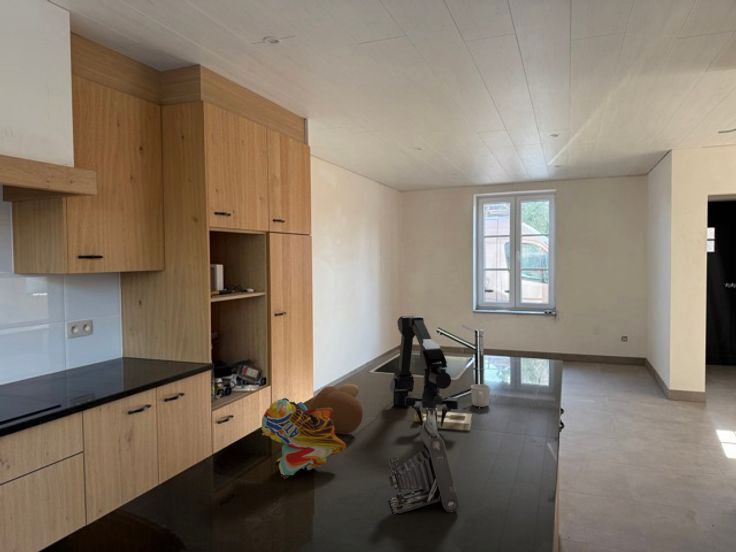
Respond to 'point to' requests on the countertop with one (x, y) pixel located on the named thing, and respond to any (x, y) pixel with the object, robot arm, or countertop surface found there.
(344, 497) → the countertop surface
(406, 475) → the camera
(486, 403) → the cup
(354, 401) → the toy
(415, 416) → the pin
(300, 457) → the multicolored irregular chunky piece
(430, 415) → the cylinder
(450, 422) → the dock
